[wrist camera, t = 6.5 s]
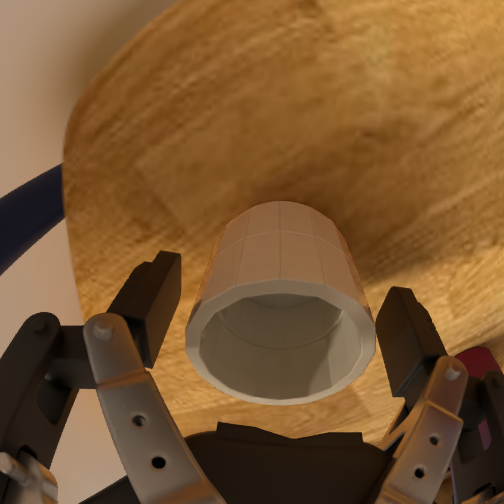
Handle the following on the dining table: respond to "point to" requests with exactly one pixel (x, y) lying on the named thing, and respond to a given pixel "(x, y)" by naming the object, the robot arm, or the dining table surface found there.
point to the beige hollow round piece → (280, 309)
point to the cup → (477, 366)
